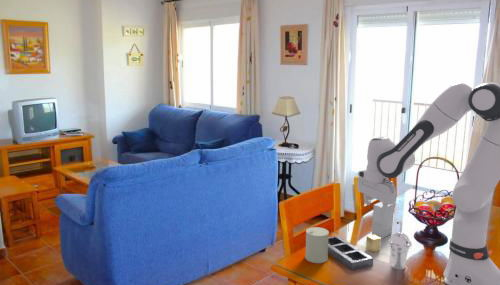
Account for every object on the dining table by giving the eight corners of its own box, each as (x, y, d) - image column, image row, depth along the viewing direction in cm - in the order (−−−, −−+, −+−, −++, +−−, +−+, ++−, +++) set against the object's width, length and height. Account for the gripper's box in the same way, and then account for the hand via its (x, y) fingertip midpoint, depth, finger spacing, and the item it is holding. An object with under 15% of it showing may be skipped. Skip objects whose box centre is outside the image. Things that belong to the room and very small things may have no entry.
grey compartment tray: (372, 265, 170) (373, 258, 169) (351, 270, 166) (352, 262, 165) (337, 242, 191) (337, 235, 191) (317, 245, 187) (318, 239, 187)
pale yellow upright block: (379, 251, 182) (380, 237, 181) (372, 253, 181) (373, 239, 179) (373, 247, 186) (374, 234, 185) (366, 249, 184) (366, 235, 183)
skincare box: (381, 230, 205) (383, 200, 202) (392, 234, 200) (394, 203, 197) (371, 234, 200) (372, 203, 197) (382, 238, 195) (384, 207, 192)
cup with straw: (414, 268, 167) (418, 219, 163) (398, 274, 163) (401, 223, 159) (397, 259, 174) (400, 212, 170) (381, 265, 170) (384, 216, 166)
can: (301, 255, 178) (301, 227, 176) (320, 251, 182) (321, 224, 179) (311, 264, 170) (312, 236, 168) (332, 261, 173) (333, 232, 171)
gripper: (401, 181, 169) (398, 215, 172) (367, 169, 187) (365, 199, 190) (388, 183, 166) (386, 217, 169) (355, 170, 185) (354, 201, 188)
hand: (375, 208), depth 180 cm, fingers open, 8 cm apart
